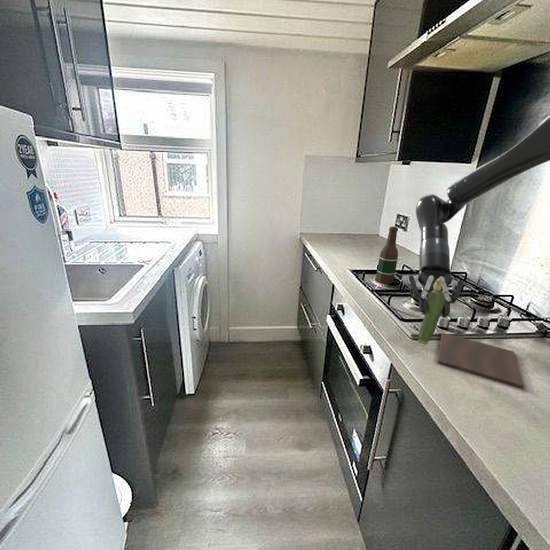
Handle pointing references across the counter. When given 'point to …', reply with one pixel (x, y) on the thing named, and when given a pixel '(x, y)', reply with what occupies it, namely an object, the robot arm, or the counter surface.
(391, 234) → the beer bottle
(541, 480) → the counter surface
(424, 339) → the vegetable
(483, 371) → the board
